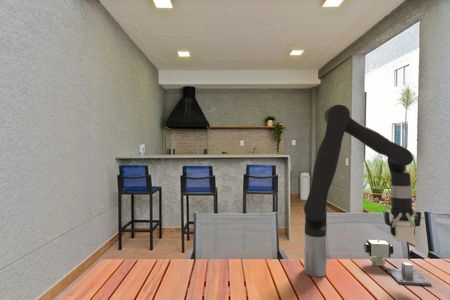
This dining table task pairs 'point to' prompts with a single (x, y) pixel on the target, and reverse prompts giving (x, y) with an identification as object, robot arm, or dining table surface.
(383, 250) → the pneumatic valve
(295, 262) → the dining table surface
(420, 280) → the shaft mount
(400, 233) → the knob
